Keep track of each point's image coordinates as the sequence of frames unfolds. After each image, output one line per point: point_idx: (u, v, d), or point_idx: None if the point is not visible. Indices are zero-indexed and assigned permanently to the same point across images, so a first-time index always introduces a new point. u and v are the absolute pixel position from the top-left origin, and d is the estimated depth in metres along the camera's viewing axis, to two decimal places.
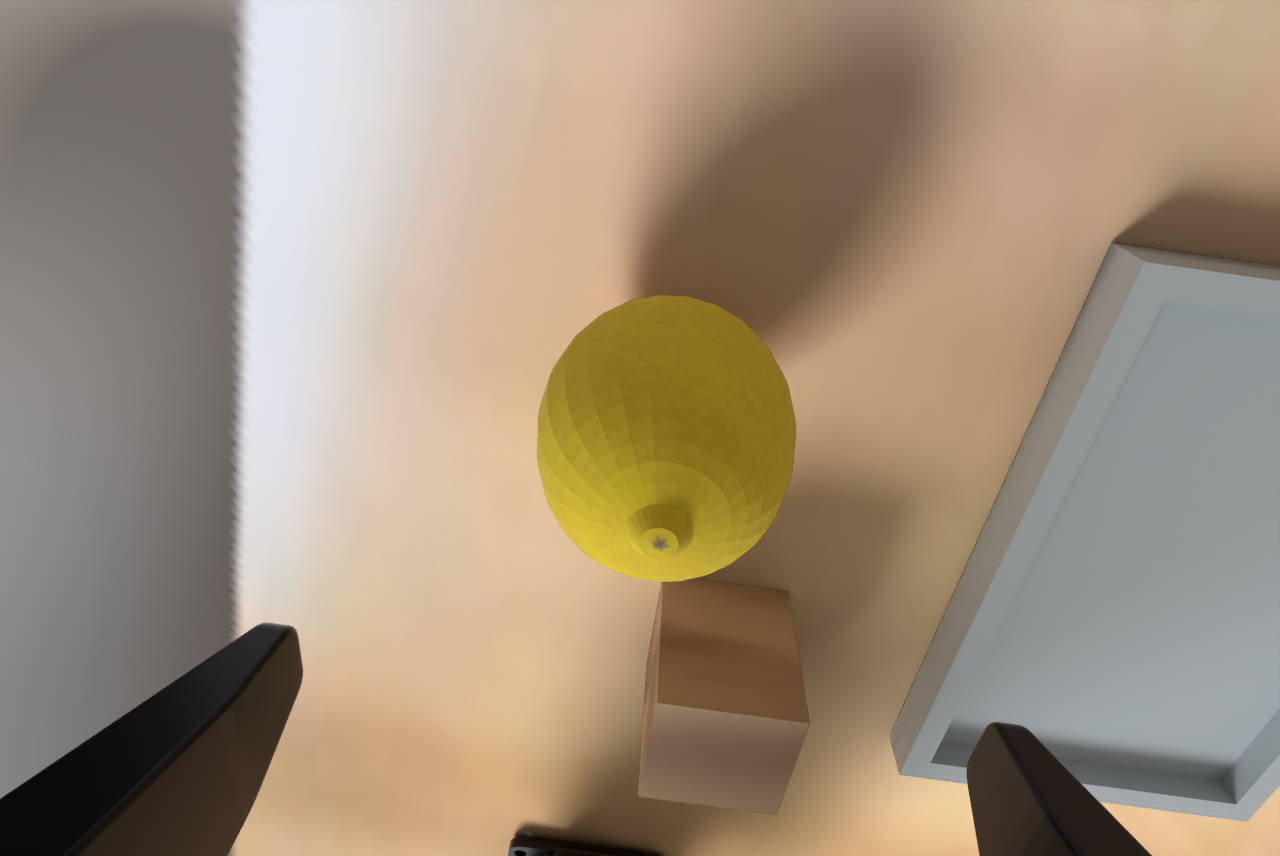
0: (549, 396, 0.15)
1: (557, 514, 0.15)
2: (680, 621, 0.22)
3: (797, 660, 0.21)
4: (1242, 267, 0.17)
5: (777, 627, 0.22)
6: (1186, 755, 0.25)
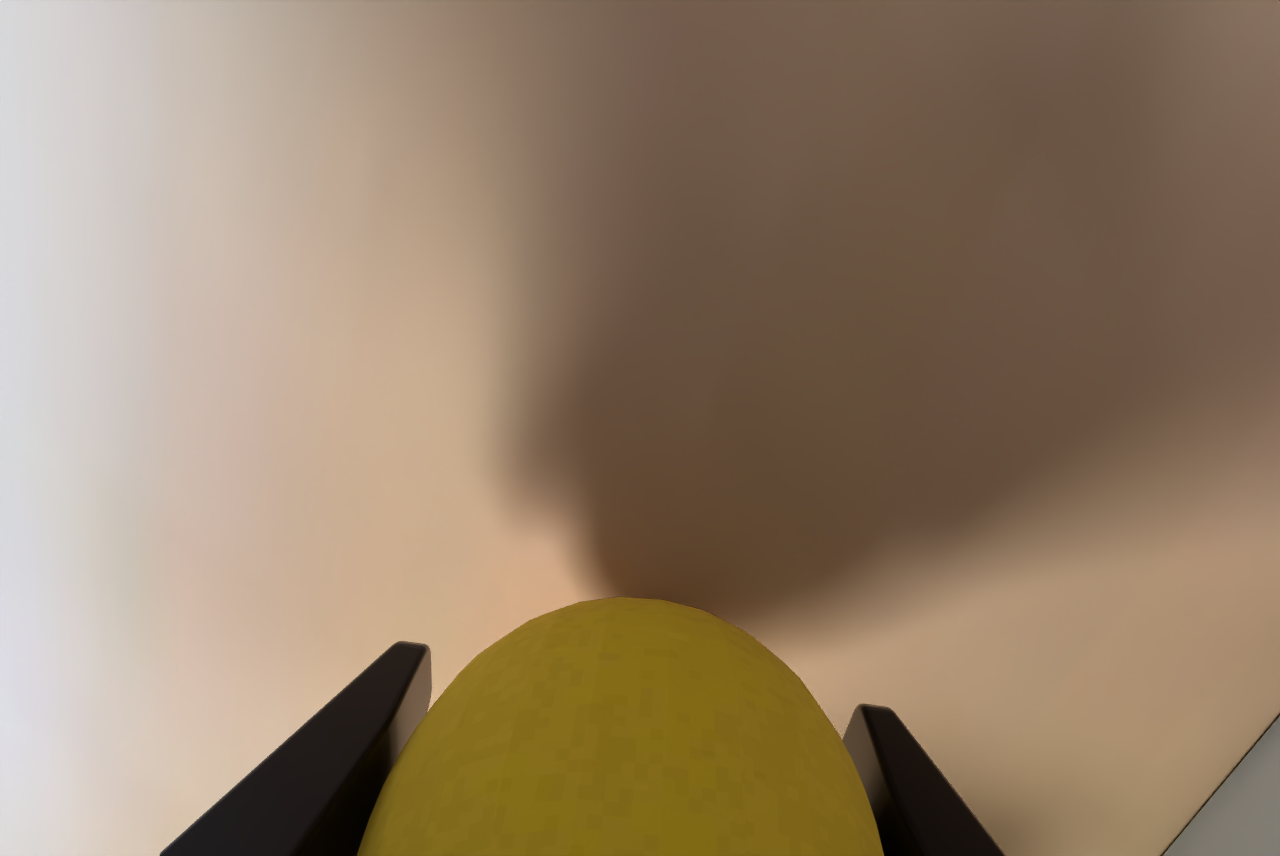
0: None
1: None
2: None
3: None
4: None
5: None
6: None
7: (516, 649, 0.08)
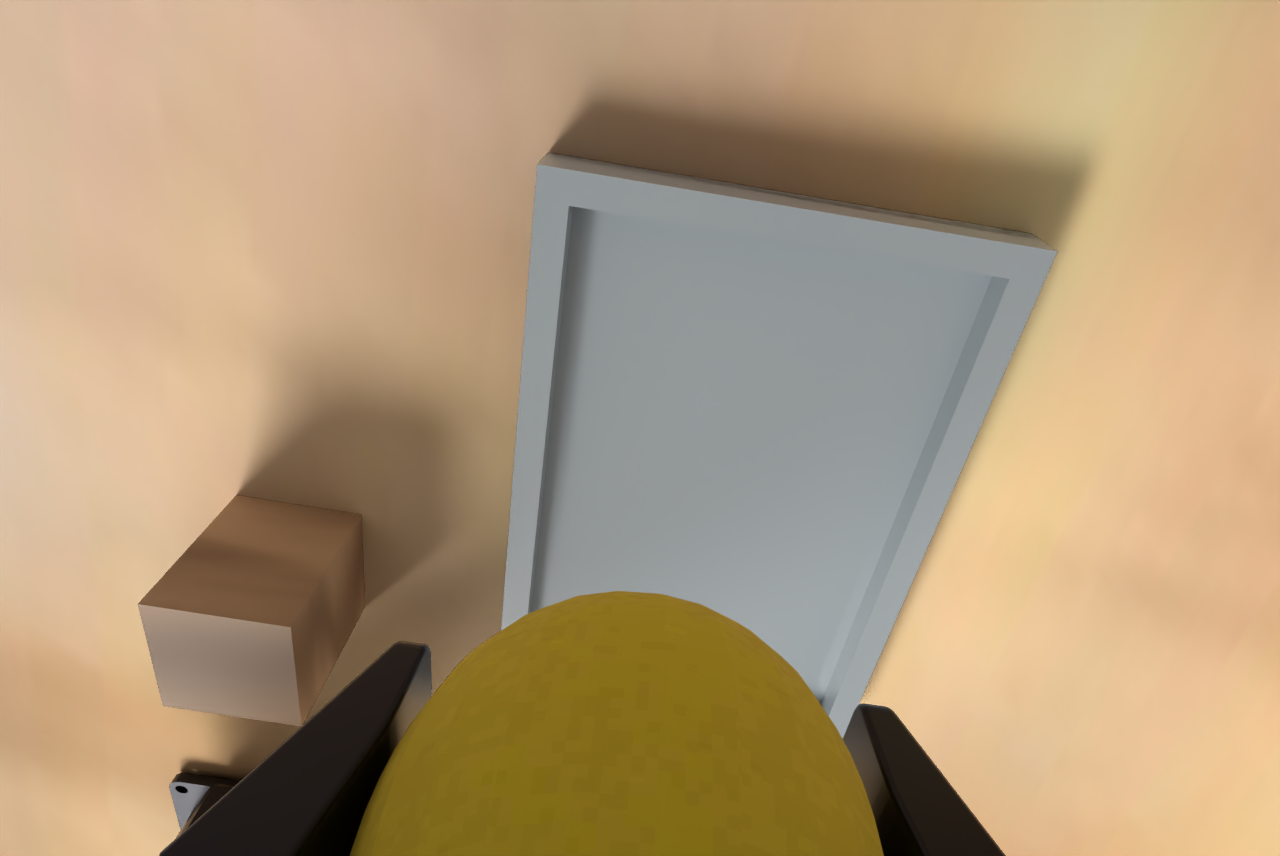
0: None
1: None
2: (222, 535, 0.22)
3: (322, 573, 0.22)
4: (657, 176, 0.18)
5: (323, 544, 0.23)
6: None
7: (512, 642, 0.08)
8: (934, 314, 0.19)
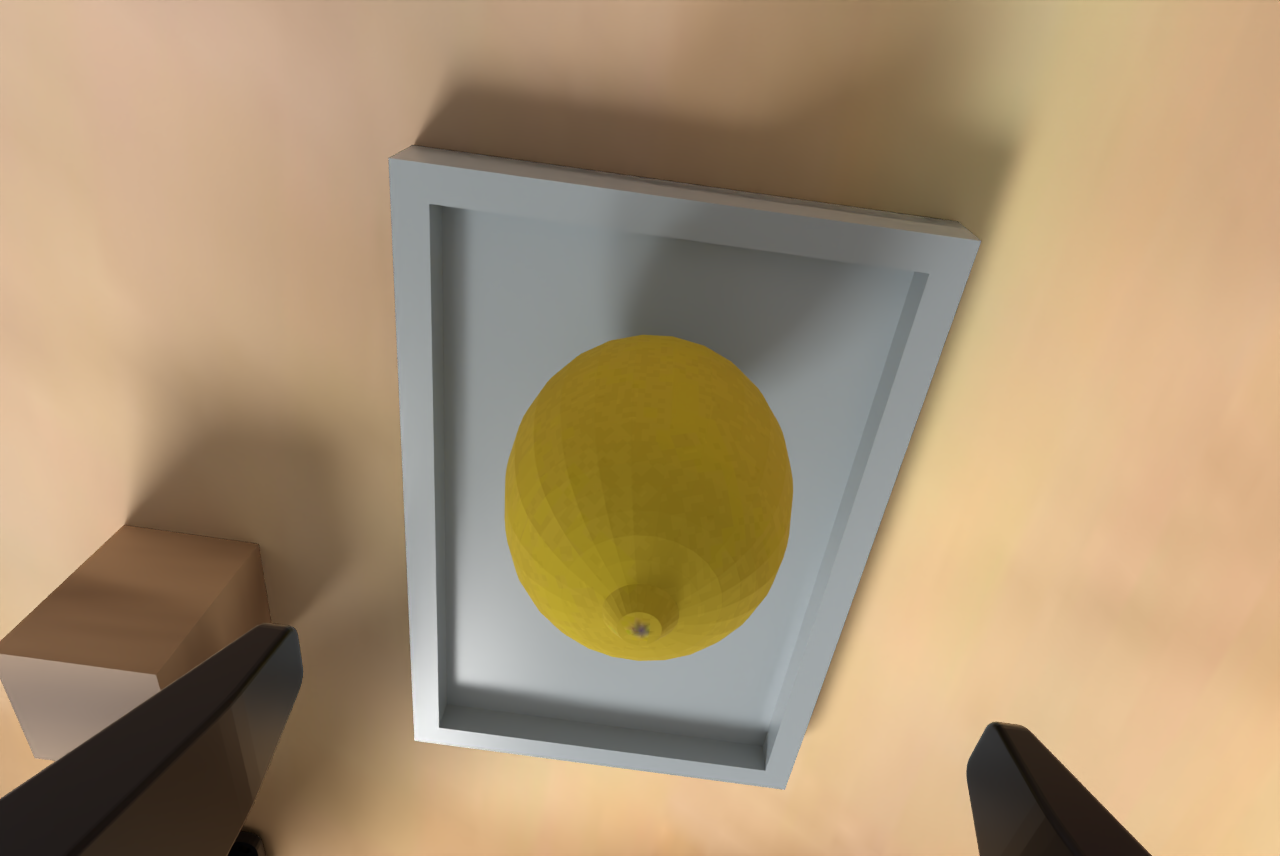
0: (517, 452, 0.13)
1: (525, 587, 0.13)
2: (99, 571, 0.21)
3: (202, 611, 0.20)
4: (530, 168, 0.16)
5: (210, 579, 0.21)
6: (717, 719, 0.24)
7: (592, 349, 0.15)
8: (853, 314, 0.17)
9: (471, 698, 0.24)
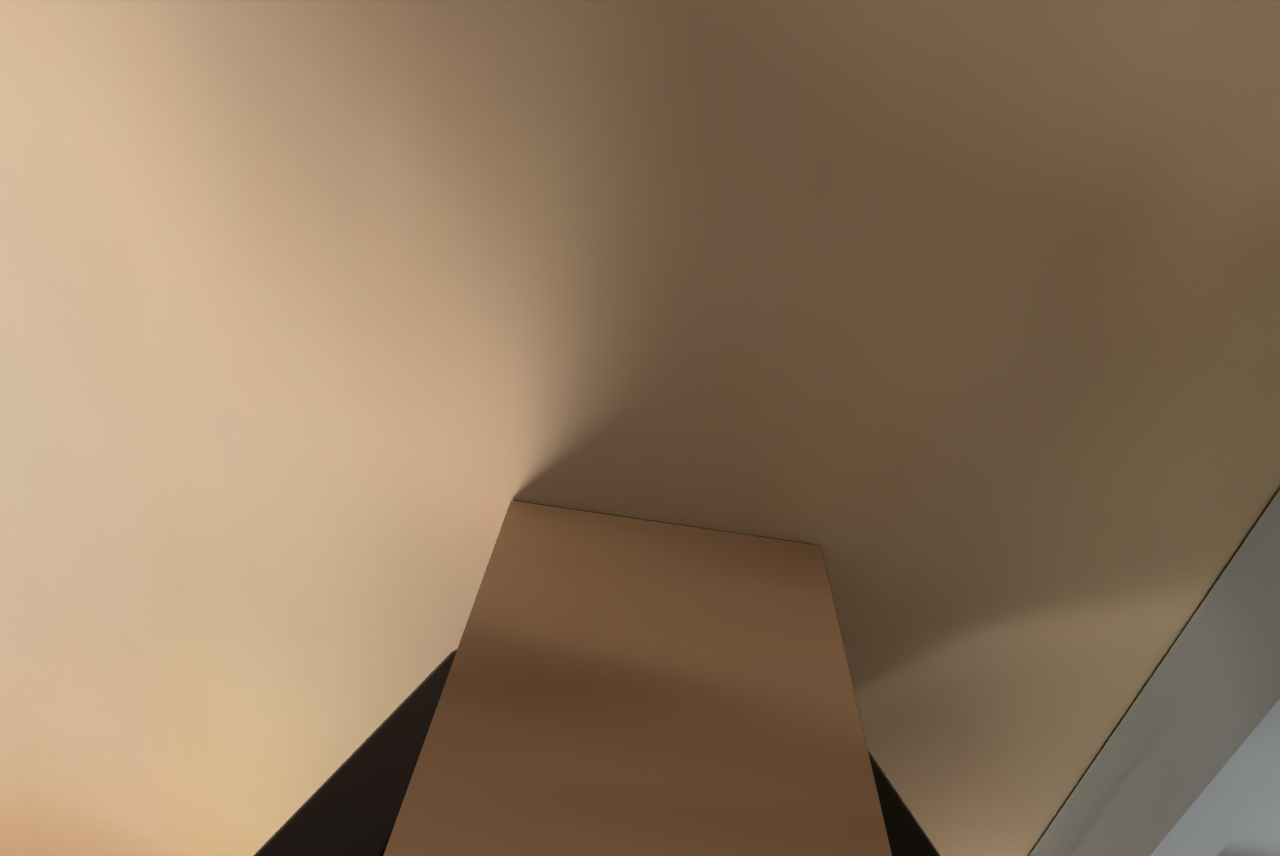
0: None
1: None
2: (527, 617, 0.08)
3: (859, 738, 0.07)
4: None
5: (796, 638, 0.08)
6: None
7: None
8: None
9: None
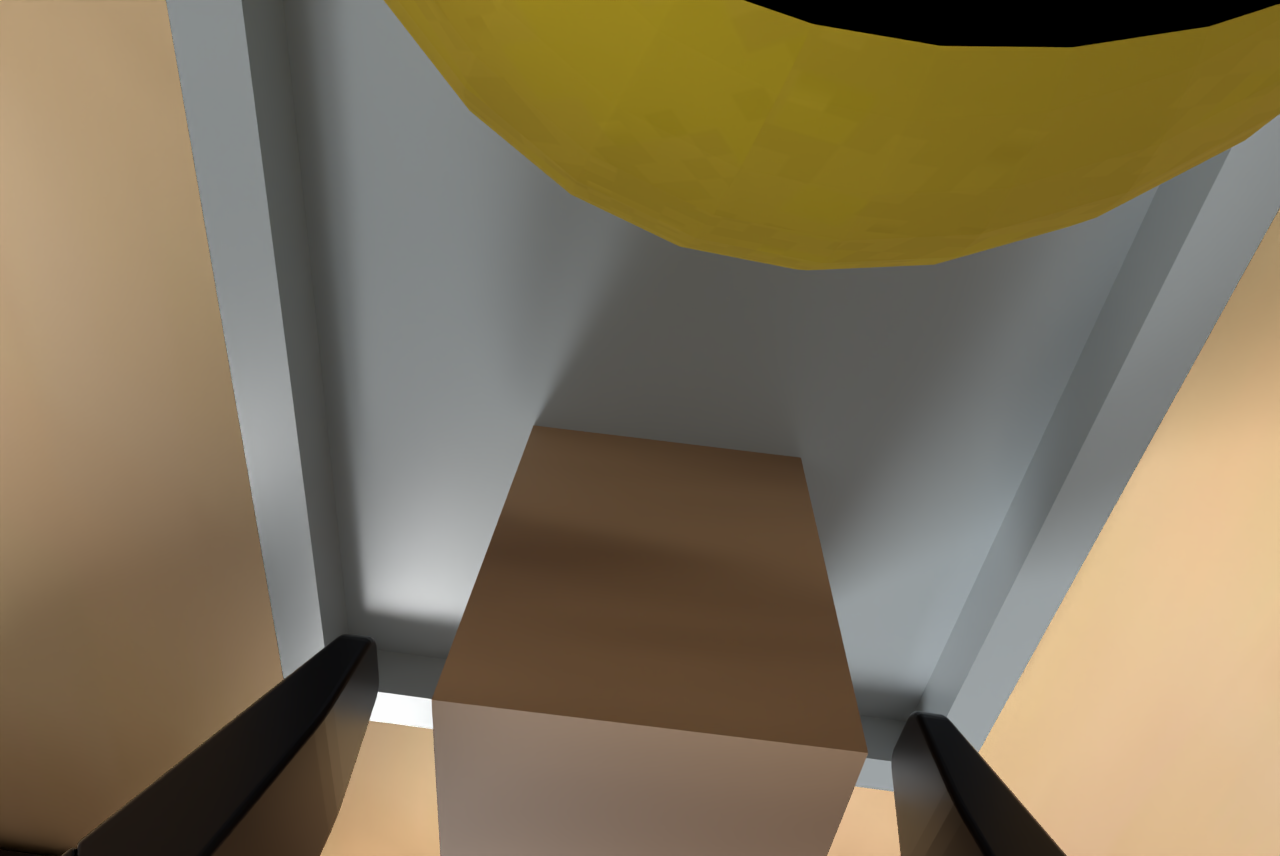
0: None
1: None
2: (551, 509, 0.09)
3: (826, 591, 0.09)
4: None
5: (776, 523, 0.10)
6: None
7: None
8: None
9: (392, 634, 0.14)
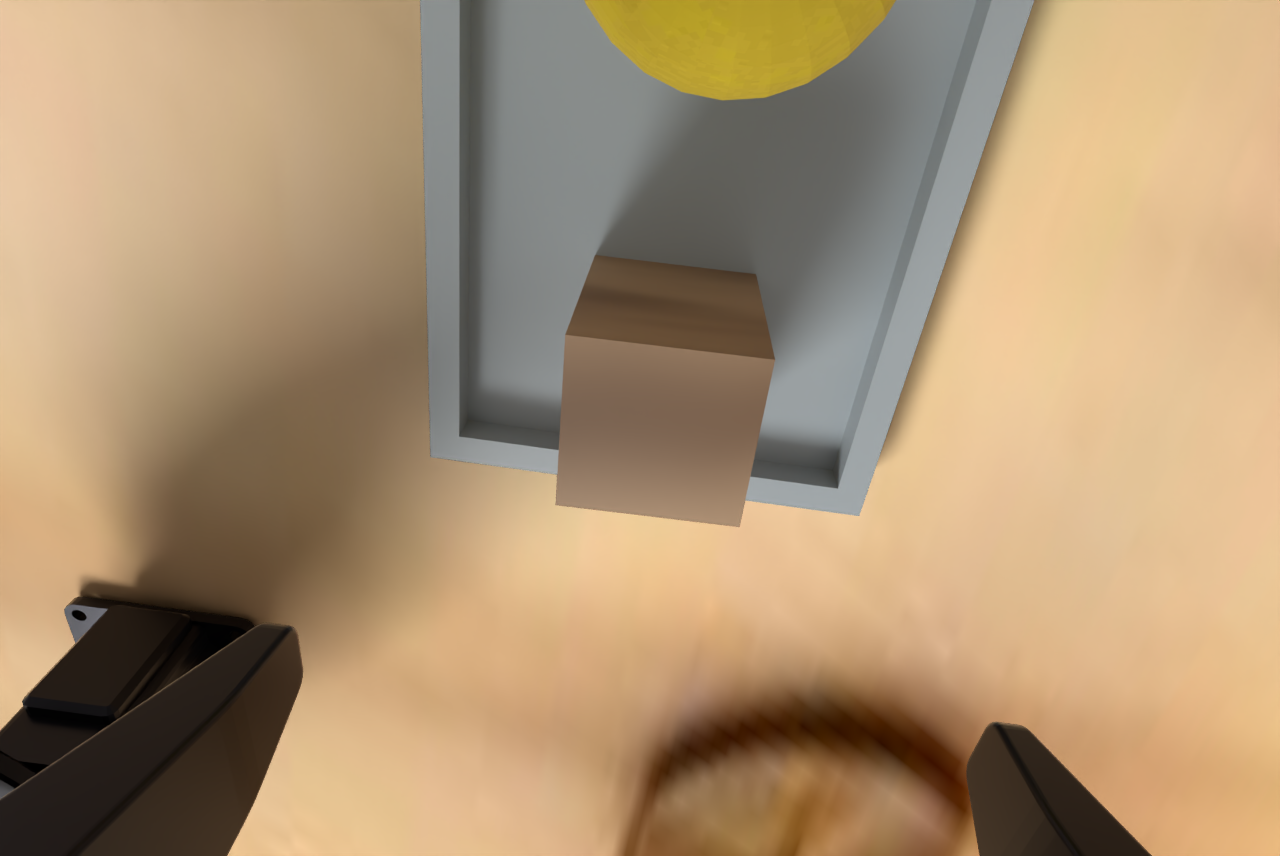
0: None
1: None
2: (611, 284, 0.17)
3: (763, 317, 0.16)
4: None
5: (738, 295, 0.17)
6: (781, 432, 0.21)
7: None
8: None
9: (496, 410, 0.21)
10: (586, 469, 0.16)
